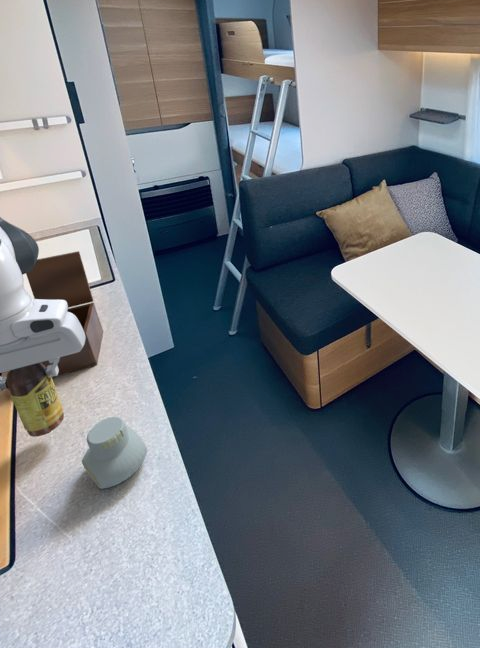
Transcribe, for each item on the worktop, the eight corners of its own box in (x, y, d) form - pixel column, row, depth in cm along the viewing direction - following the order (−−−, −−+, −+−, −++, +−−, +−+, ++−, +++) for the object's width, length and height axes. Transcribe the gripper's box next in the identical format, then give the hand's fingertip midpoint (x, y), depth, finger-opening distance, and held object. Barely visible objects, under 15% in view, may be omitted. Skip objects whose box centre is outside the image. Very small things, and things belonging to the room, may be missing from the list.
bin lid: (78, 252, 105) (82, 245, 109) (22, 263, 100) (28, 255, 105) (93, 301, 109) (96, 293, 113) (39, 314, 104) (45, 305, 109)
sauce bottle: (58, 433, 80) (25, 354, 72) (20, 442, 78) (-17, 362, 71) (71, 406, 86) (42, 330, 78) (36, 413, 84) (3, 337, 77)
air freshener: (82, 468, 78) (66, 431, 74) (126, 435, 84) (114, 399, 80) (110, 503, 72) (94, 465, 68) (155, 464, 78) (143, 427, 74)
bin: (97, 364, 102) (85, 333, 98) (40, 381, 97) (26, 349, 94) (103, 331, 113) (93, 302, 109) (52, 345, 109) (40, 315, 105)
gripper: (-83, 352, 66) (-49, 414, 71) (69, 316, 74) (89, 375, 79) (-65, 328, 71) (-35, 388, 76) (76, 297, 79) (94, 353, 84)
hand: (30, 381), depth 78 cm, fingers closed on sauce bottle, 6 cm apart
